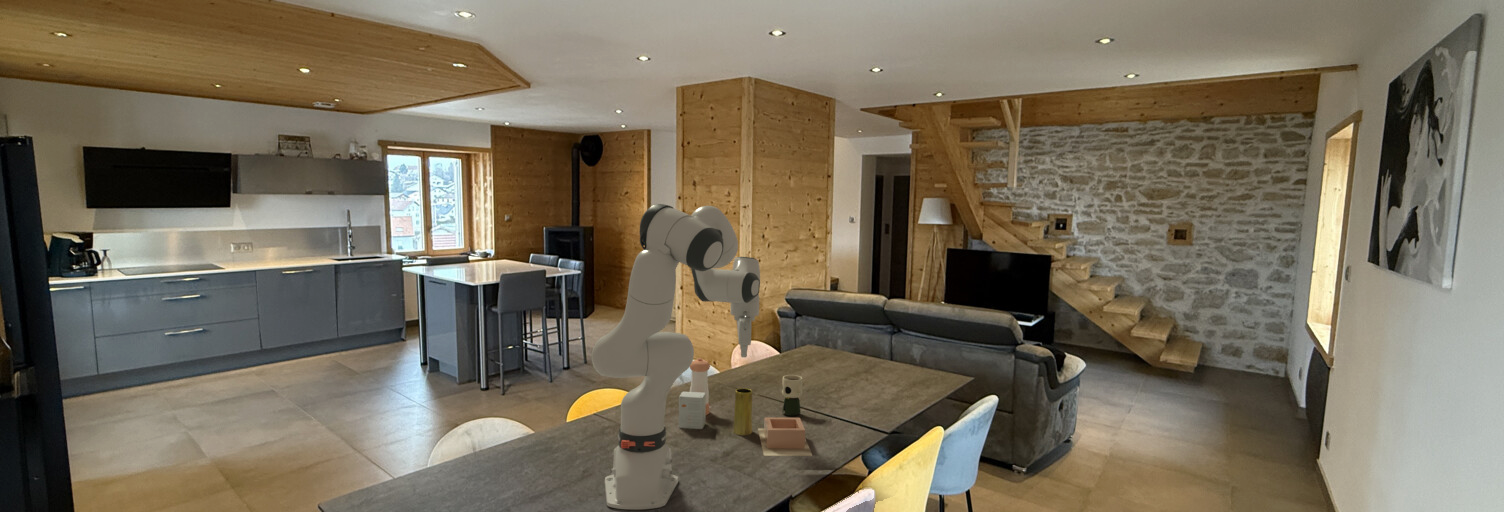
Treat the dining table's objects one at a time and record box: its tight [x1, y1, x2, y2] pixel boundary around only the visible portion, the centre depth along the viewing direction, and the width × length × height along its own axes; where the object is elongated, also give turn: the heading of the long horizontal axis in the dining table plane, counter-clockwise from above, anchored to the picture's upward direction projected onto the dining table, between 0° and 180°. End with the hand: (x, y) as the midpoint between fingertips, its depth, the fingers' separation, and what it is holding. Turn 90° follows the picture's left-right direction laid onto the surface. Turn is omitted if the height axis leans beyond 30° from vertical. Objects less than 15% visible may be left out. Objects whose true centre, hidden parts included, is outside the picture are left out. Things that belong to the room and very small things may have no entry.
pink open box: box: [763, 417, 806, 448], centre depth 196 cm, size 11×11×6 cm
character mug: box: [781, 374, 804, 416], centre depth 224 cm, size 11×7×13 cm, turn 30°
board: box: [757, 428, 813, 457], centre depth 196 cm, size 22×14×1 cm, turn 4°
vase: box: [733, 387, 753, 436], centre depth 203 cm, size 6×6×14 cm
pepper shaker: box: [689, 357, 711, 416], centre depth 223 cm, size 7×7×19 cm
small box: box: [678, 391, 707, 430], centre depth 210 cm, size 8×6×10 cm
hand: (743, 352), depth 201 cm, fingers open, 8 cm apart
